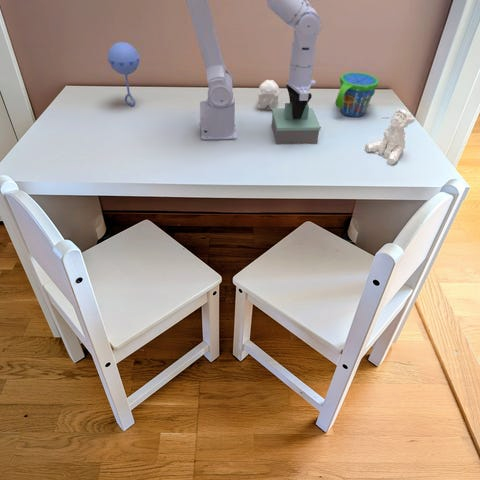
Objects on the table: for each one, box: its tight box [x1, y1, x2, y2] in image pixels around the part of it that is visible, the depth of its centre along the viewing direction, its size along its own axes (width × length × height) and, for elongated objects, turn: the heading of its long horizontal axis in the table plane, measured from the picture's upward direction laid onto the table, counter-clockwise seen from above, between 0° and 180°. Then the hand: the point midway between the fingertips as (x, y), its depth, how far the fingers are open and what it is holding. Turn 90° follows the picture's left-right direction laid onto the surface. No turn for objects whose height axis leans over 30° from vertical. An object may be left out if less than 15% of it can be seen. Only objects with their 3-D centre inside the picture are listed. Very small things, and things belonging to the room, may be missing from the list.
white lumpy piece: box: [257, 79, 280, 110], centre depth 123 cm, size 6×8×12 cm
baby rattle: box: [107, 41, 140, 107], centre depth 118 cm, size 9×9×18 cm
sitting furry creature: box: [364, 107, 416, 166], centre depth 101 cm, size 10×9×12 cm
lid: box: [271, 102, 321, 131], centre depth 108 cm, size 11×11×5 cm
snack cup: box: [334, 72, 379, 118], centre depth 119 cm, size 16×10×10 cm
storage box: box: [271, 114, 320, 145], centre depth 111 cm, size 11×11×4 cm
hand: (295, 115), depth 109 cm, fingers open, 3 cm apart
